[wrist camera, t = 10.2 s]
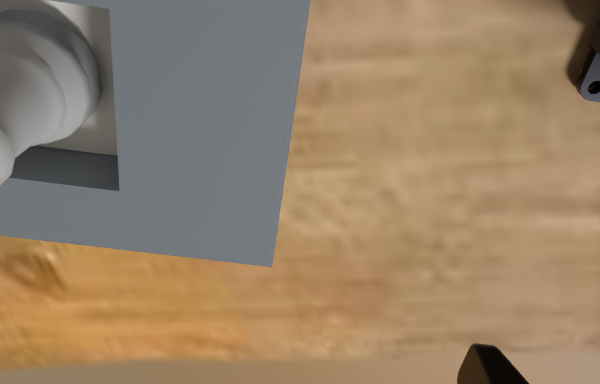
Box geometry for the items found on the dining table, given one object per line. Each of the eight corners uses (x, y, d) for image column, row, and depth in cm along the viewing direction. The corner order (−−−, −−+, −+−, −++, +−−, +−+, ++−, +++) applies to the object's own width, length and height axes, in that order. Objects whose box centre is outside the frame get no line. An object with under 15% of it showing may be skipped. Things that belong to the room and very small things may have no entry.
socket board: (318, -79, 17) (319, -64, 15) (275, 227, 24) (272, 267, 22) (-302, -174, 16) (-394, -172, 14) (-163, 174, 23) (-211, 211, 21)
